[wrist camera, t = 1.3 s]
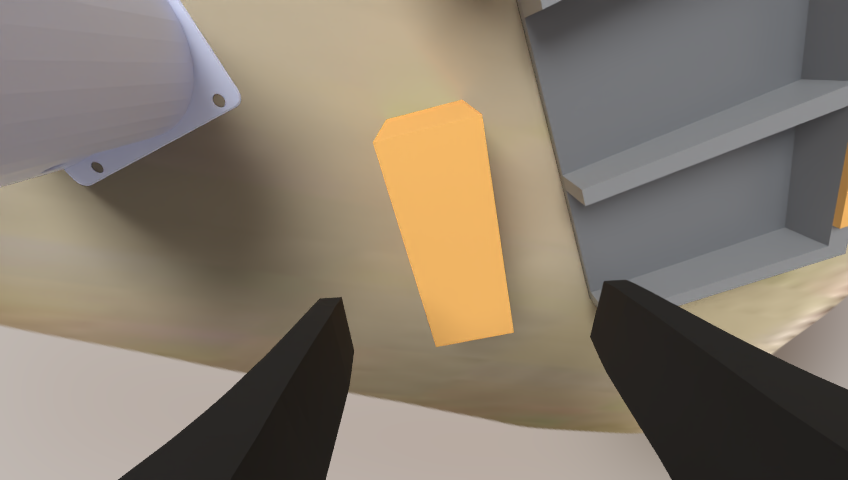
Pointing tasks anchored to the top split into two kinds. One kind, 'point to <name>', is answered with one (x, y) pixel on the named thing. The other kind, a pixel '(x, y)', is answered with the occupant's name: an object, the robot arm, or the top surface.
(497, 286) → the orange rectangular block
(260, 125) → the top surface
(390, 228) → the top surface
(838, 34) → the grey rectangular tray
